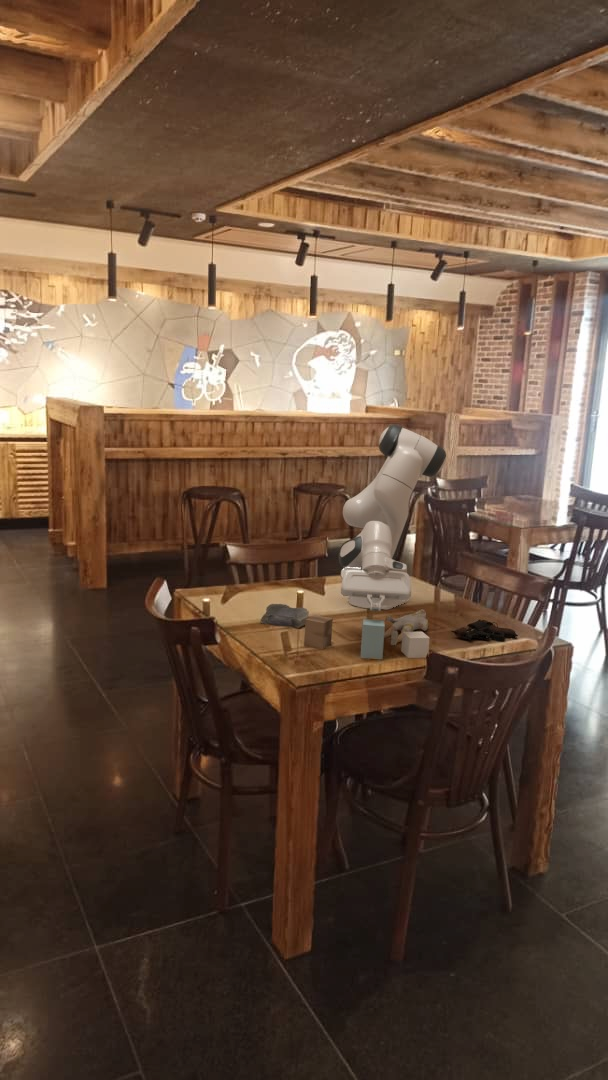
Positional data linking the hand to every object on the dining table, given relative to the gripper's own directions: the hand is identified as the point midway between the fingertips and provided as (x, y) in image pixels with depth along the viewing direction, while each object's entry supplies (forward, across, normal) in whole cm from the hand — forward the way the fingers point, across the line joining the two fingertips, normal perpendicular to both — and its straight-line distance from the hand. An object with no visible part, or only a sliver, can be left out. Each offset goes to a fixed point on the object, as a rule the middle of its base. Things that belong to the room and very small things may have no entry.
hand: (375, 609), depth 222 cm
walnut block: (+5, -16, +14) cm, 22 cm away
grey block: (+7, +12, +12) cm, 19 cm away
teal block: (+10, 0, +9) cm, 14 cm away
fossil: (-11, -27, +31) cm, 42 cm away
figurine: (-8, +11, +28) cm, 31 cm away
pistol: (-8, +37, +28) cm, 47 cm away
